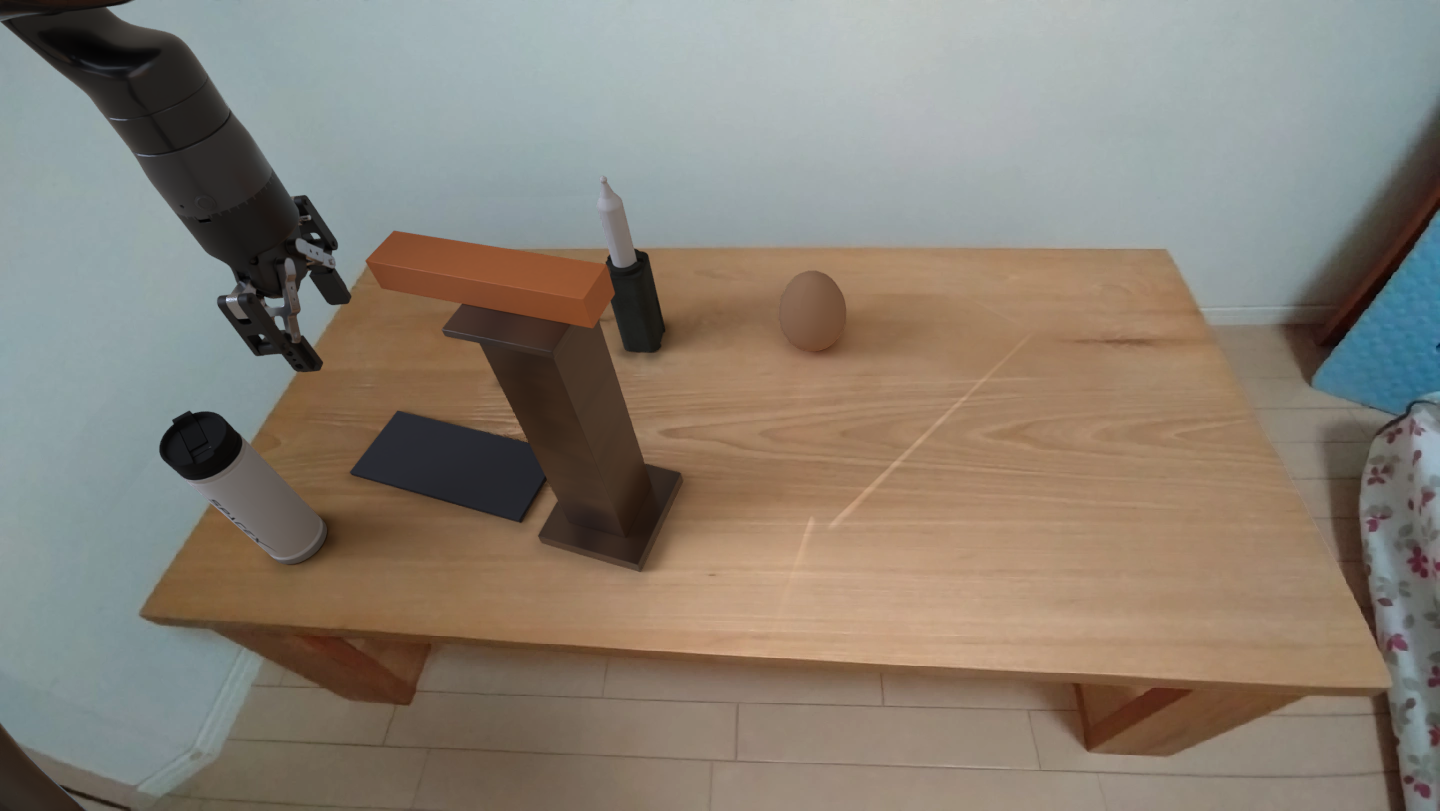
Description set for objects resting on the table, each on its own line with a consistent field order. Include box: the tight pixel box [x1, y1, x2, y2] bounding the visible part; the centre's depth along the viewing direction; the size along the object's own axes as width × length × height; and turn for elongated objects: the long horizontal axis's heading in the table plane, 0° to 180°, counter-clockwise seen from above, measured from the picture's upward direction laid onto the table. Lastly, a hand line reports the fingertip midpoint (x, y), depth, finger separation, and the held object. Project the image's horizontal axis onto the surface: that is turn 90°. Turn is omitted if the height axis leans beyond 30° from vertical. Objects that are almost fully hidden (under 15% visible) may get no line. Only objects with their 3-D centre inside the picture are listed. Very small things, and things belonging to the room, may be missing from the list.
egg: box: [778, 270, 847, 352], centre depth 95 cm, size 8×8×11 cm
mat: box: [349, 410, 547, 524], centre depth 92 cm, size 24×10×1 cm, turn 70°
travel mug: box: [158, 410, 328, 565], centre depth 81 cm, size 6×7×20 cm
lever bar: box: [364, 230, 615, 328], centre depth 61 cm, size 20×4×3 cm, turn 70°
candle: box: [596, 175, 666, 353], centre depth 93 cm, size 5×5×25 cm
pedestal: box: [441, 266, 684, 573], centre depth 74 cm, size 12×12×32 cm
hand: (327, 334), depth 70 cm, fingers open, 8 cm apart
